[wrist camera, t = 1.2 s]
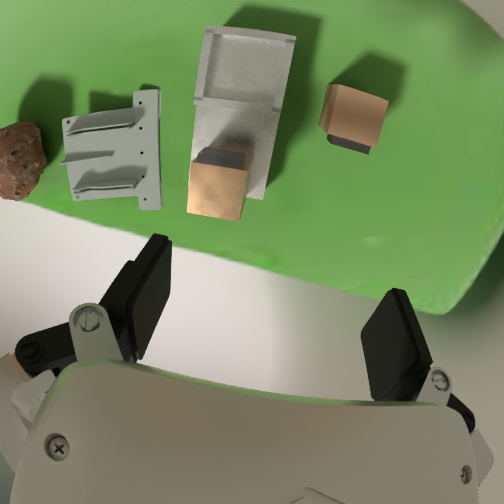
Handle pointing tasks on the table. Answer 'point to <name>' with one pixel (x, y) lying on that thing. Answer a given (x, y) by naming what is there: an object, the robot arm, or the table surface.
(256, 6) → the table surface
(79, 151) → the metal bracket
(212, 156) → the white desk organizer
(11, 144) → the decorative rock
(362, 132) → the wood grain cube
